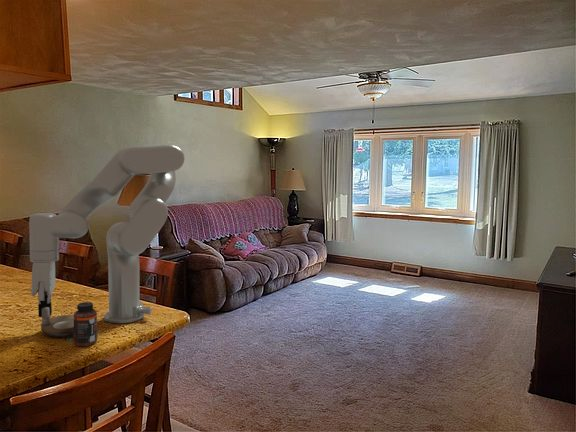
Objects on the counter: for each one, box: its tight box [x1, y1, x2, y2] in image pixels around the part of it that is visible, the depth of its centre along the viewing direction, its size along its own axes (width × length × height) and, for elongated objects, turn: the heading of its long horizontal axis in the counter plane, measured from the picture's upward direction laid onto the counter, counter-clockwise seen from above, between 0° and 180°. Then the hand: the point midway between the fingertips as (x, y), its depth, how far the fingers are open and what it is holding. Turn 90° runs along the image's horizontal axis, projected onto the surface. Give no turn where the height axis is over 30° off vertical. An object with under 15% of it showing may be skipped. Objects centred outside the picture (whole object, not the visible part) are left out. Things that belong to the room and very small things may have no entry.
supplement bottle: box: [73, 301, 98, 347], centre depth 124 cm, size 6×6×11 cm
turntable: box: [40, 307, 74, 334], centre depth 132 cm, size 13×13×6 cm
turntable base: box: [46, 333, 74, 343], centre depth 131 cm, size 10×13×1 cm
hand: (45, 315), depth 132 cm, fingers closed
